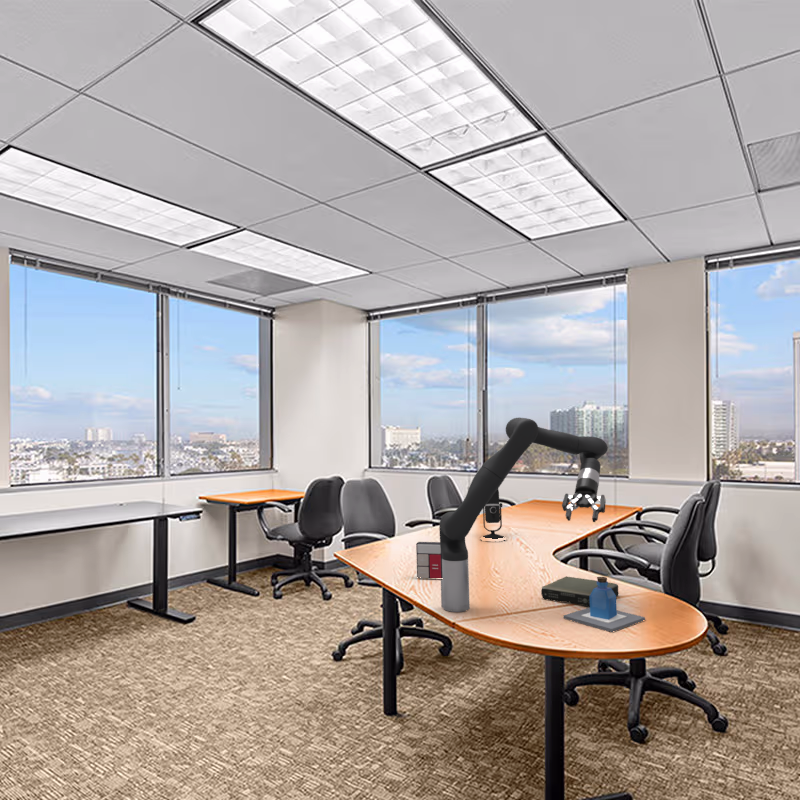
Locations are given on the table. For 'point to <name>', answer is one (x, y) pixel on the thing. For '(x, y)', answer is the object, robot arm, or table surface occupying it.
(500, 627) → the table surface
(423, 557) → the grey and red box
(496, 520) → the microphone
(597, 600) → the perfume bottle
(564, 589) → the network switch
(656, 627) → the table surface
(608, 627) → the mat
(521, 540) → the table surface
